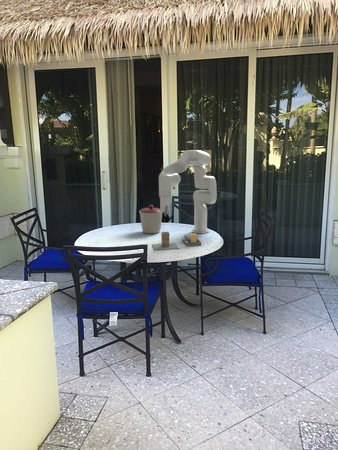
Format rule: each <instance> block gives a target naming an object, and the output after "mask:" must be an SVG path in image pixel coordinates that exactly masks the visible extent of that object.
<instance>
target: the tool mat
mask: <svg viewBox="0 0 338 450" xmlns="http://www.w3.org/2000/svg"><path fill="white" fill-rule="evenodd" d="M151 246H152V247H153V250H154V251H163V250H164V251H168V250H180V247H179V245H178V244H177V242H173V243H172V242H171V243H170V242H169V247H162V243H153V244H151Z"/></svg>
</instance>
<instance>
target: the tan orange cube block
mask: <svg viewBox="0 0 338 450" xmlns="http://www.w3.org/2000/svg"><path fill="white" fill-rule="evenodd" d="M189 237H190V240H191V242H197V238H198V233H194V232H192V233H189Z"/></svg>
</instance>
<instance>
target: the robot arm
mask: <svg viewBox="0 0 338 450" xmlns="http://www.w3.org/2000/svg"><path fill="white" fill-rule="evenodd" d="M211 161H212V160H211V155H210V154H209V153H208V152H205V151H202V150H198V149H186V150H184V151H183V153H182V154H181V155H180V156H179V157H178V158H177V160H176V161H175V162H173V163H171V164H169V165H167V166H165V167H164V168H163V169H162V170H161V172H160V173H159V175H158V195H159V196H158V197H159V201H160V202H159V205H160V206H159V207H160V208H159V209H160V211H161V212H162V220H163V221H164V223H166V224H167V223H168V224H169V223H170V212H171V203H170V201H171V200H170V199H171V198H170V197H172V186H177V185H179V184H180V182H181V180H182V177H181V175H180V173H183V172H186V171H187V169H188V168H189V166H191V167H192V169H193V174H194V175H193V176H194V186H195V188H197V189H198V190H196V191H195V190H194V192H193V194H192V198H193V204H194V209H193V210H194V212H193V213H194V214H193V215H194V219H193V220H194V224H193V226H194V227H193V229H192V230H191V231H192V233H196V234H206V233H209V229H208V207H207V205H206V204H210V205H213V204H215V203H216V202H217V199H218V197H217V196H218V194H217V180H216V178H215V177H214V176H212V175H207V171H206V166H208V165H210V163H211Z"/></svg>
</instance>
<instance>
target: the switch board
mask: <svg viewBox="0 0 338 450" xmlns="http://www.w3.org/2000/svg"><path fill="white" fill-rule="evenodd" d="M181 241H182V242H183V243H184V244H186V245H185V246H186V247H190V246H192V247H193V246H202V241H201V240H200V239H199V238H198V237H197V242H191V240H190V236H188V235H184V237H182V238H181Z"/></svg>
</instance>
